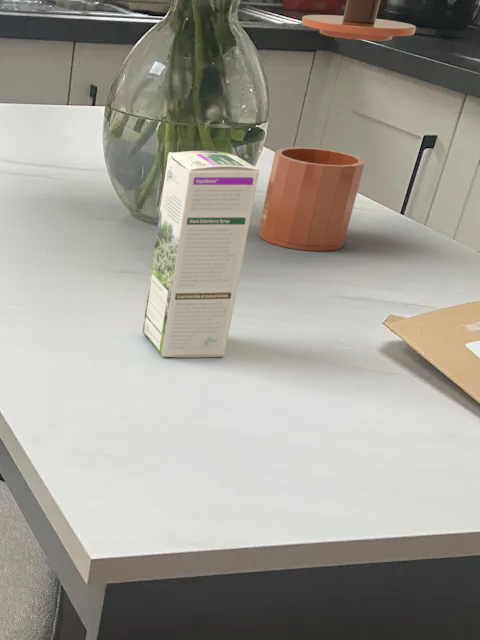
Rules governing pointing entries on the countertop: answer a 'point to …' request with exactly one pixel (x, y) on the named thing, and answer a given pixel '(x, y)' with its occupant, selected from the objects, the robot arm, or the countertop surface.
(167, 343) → the syrup box
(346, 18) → the lid
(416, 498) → the countertop surface
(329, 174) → the jar
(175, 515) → the countertop surface
